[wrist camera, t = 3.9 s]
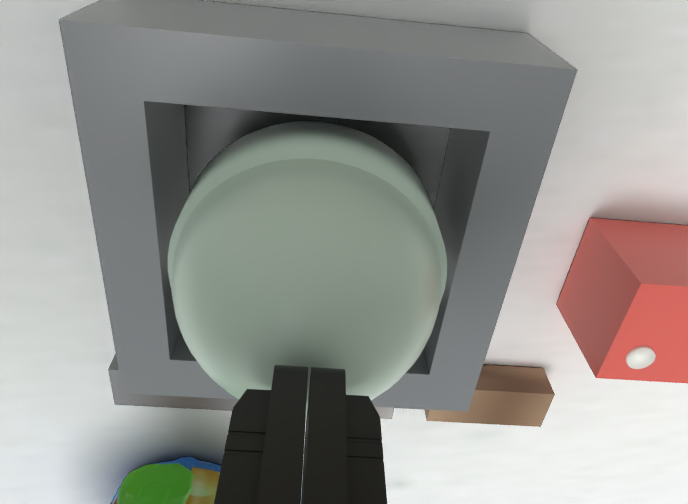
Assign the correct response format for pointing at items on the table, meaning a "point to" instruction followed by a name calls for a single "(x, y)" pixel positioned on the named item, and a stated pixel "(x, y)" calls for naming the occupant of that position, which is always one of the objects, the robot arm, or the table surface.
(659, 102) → the table surface
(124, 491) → the snack cup
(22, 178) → the table surface
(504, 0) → the table surface
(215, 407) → the track markers
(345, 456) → the robot arm
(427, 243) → the dome
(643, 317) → the red die
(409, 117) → the frame
